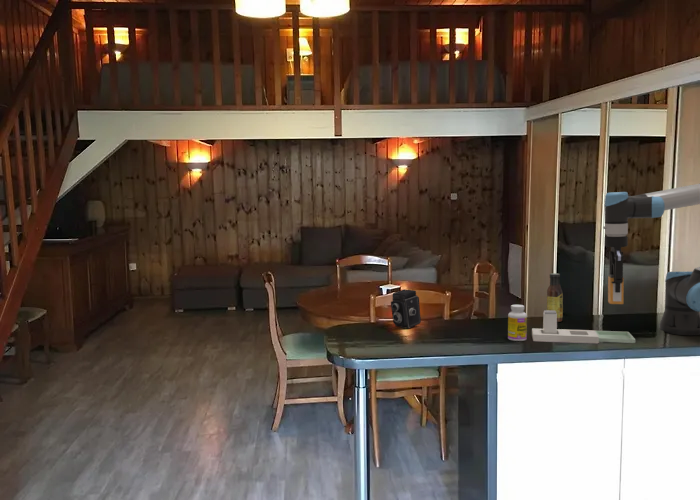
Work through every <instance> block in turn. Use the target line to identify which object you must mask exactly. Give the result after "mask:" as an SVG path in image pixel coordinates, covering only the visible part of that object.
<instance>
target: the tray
mask: <svg viewBox="0 0 700 500" xmlns="http://www.w3.org/2000/svg"><path fill="white" fill-rule="evenodd" d="M595 332H596V333H597V335H598V336H599V343H600V342H601V343H625V344H626V343H628V344H636V338H635V337H634V336H633V335H632V334H631V333H630V332H629V331H619V330H618V331H616V330H615V331H614V330H613V331H611V330H595Z"/></svg>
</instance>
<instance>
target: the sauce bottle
mask: <svg viewBox="0 0 700 500" xmlns="http://www.w3.org/2000/svg"><path fill="white" fill-rule="evenodd" d="M560 277H561V273H557V272H556V273H549V286H548V288H547V290H546V293H547V294H546V310H553V311H556V313H557V323H560V322H562V321H563V317H564V316H563V313H564V311H563V310H564V304H563V302H564V300H563V299H564V295H563V293H564V292H563V290H562V287H561V283H560Z"/></svg>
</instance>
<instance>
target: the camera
mask: <svg viewBox="0 0 700 500" xmlns="http://www.w3.org/2000/svg"><path fill="white" fill-rule="evenodd" d="M390 308H391V316H392V317H391V318H392V322H393V324H394V325H395V327H398V328H401V329H402V328H403V329H411V328H413V327H416V326H417V325H420V324H421V322H422V318H421V310H420V309H421V307H420V297H419V296H418V295H417V291H416V290H413V289H412V290H411V289H401V290H398V291H395V292H393V293H392V300H391V301H390Z"/></svg>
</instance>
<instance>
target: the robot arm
mask: <svg viewBox="0 0 700 500" xmlns="http://www.w3.org/2000/svg"><path fill="white" fill-rule="evenodd" d="M604 197H605V198H604V226H603V227H602V229H603V230H604V234H605V236H604V246H605V247H607V248H610V250H609V251H608V257H609V258H608V260H609V263H608V264H609V265H608V266H609V267H608V268H609V270H608V271H609V273H608V276H609V275H614V282H612V283H613V301H621V285H622V282H623V278H624V252H623V251H622V248H625V247H628V245H629V244H628V241H629V240H628V239H629V237H628V233H629V221H628V220H629V219H654V218H660V217H662V216H663V215H664V213H665V211H669V210H676V209H681V208H686V207H691V206H697V205H700V183H694V184H691V185H684V186H679V187H674V188H670V189H664V190H659V191H653V192H648V193H647V192H646V193H641V194H637V195H632V196H631V195H629V194H628V192H627V191H619V192H618V191H617V192H616V191H615V192H614V191H613V192H611V191H610V192H607V193H606V194H605V196H604ZM664 282H665V289H664V290H665V292H664V296H665V297H664V299H665V300H664V310H663V314H662V316H661V319H660V321H659V330H660V331H663V332H664V333H666V334H671V335H679V336H700V266H698V267H695V268H694V269H693V271H668V272H667V273H666V275H665V280H664Z"/></svg>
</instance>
